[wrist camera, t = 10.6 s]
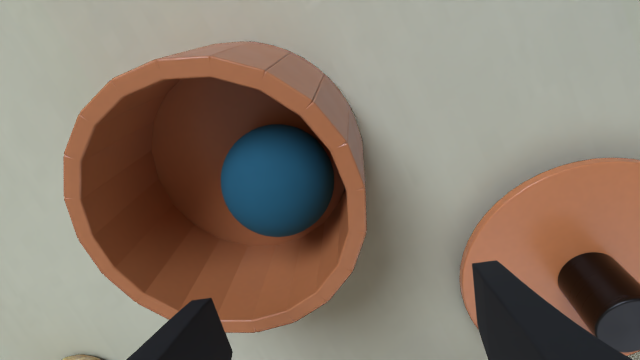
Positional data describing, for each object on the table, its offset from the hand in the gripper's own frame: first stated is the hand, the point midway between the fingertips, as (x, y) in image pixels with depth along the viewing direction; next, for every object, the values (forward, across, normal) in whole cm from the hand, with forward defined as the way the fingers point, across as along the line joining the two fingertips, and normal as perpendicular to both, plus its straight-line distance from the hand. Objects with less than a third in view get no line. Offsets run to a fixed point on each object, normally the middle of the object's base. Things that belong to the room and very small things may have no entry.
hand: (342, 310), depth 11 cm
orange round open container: (+8, +4, -2) cm, 9 cm away
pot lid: (+8, -10, +6) cm, 14 cm away
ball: (+6, +2, -2) cm, 6 cm away
